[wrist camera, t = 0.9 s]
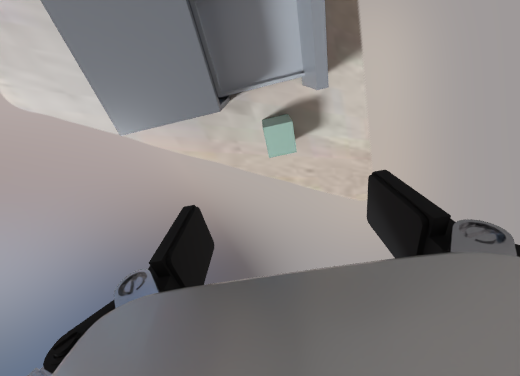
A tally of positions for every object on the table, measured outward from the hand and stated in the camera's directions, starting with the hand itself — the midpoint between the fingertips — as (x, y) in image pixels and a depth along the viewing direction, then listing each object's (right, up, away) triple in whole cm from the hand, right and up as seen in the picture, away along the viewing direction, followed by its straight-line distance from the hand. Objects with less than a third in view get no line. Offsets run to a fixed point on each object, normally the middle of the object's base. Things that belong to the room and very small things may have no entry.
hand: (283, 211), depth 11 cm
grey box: (-13, +18, +16) cm, 28 cm away
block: (+1, +10, +21) cm, 23 cm away
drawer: (-2, +20, +14) cm, 25 cm away
